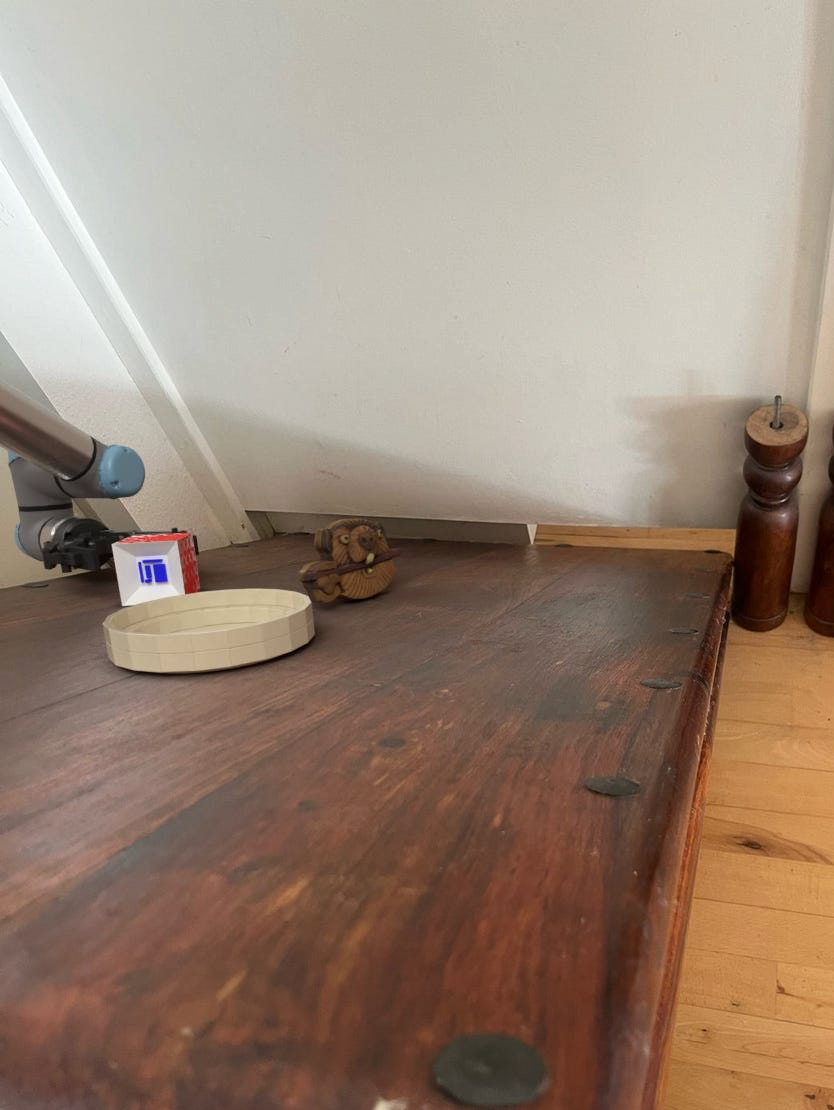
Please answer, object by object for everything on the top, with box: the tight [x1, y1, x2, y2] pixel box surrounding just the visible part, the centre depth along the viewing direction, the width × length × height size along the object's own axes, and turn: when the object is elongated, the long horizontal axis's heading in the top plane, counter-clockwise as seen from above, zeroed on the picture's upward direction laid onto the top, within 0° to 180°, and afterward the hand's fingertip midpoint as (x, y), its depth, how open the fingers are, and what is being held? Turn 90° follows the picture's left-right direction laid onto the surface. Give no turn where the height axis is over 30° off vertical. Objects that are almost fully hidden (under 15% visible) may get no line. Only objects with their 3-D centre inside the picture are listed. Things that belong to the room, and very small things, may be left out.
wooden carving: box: [297, 518, 403, 604], centre depth 94 cm, size 16×5×10 cm, turn 150°
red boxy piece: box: [112, 532, 201, 607], centre depth 101 cm, size 8×8×8 cm
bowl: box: [102, 588, 316, 675], centre depth 76 cm, size 19×19×4 cm
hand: (148, 552), depth 102 cm, fingers open, 13 cm apart
